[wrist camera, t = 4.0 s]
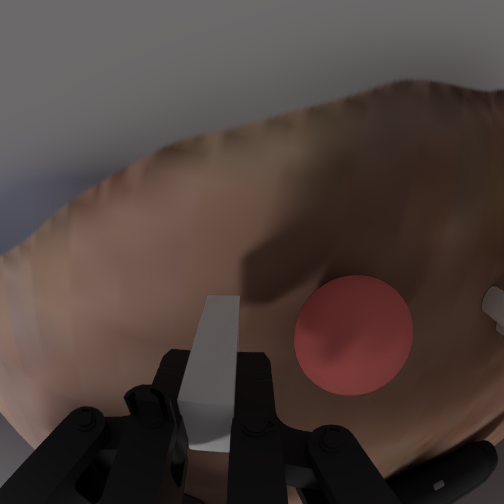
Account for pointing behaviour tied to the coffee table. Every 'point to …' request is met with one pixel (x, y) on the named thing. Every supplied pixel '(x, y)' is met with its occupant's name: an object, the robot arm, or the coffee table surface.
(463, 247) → the coffee table surface
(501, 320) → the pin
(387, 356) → the ball
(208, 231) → the coffee table surface
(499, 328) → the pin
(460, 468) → the portable speaker
